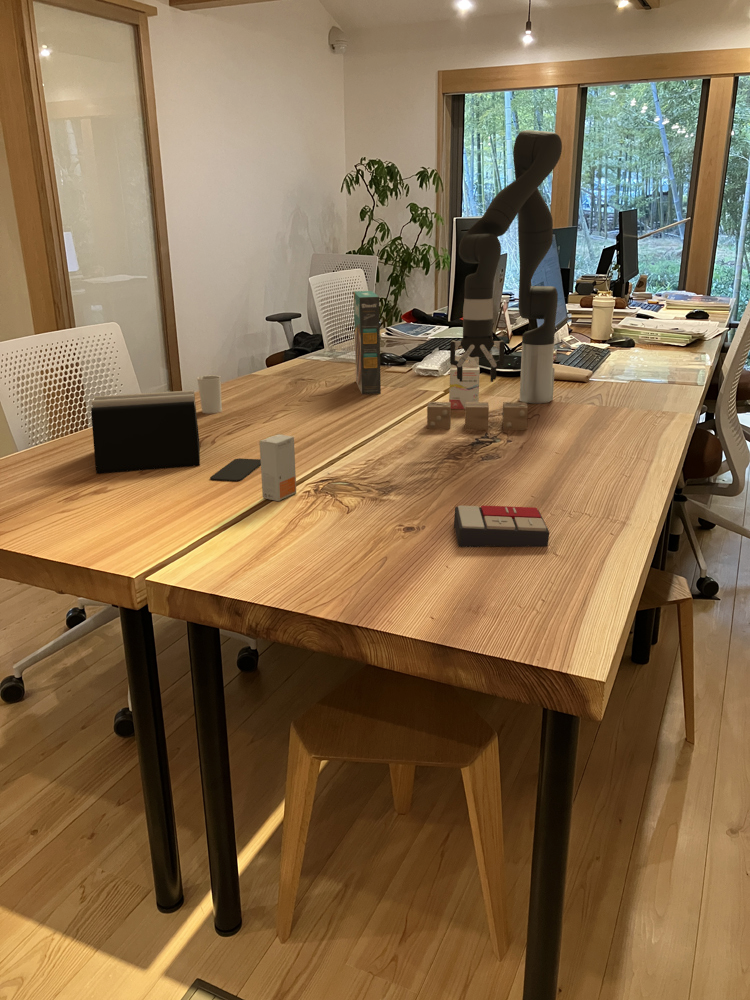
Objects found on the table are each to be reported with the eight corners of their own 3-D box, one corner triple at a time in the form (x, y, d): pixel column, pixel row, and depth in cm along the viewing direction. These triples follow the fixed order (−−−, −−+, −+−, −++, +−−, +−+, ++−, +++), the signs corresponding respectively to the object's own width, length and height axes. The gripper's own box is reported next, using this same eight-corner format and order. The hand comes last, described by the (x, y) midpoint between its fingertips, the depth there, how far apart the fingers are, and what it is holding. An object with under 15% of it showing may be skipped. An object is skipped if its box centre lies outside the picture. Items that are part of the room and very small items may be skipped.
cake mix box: (355, 381, 268) (353, 291, 258) (373, 380, 269) (371, 290, 259) (361, 394, 248) (359, 297, 238) (380, 393, 249) (379, 296, 238)
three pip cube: (428, 423, 211) (428, 401, 209) (450, 423, 210) (450, 401, 208) (427, 429, 205) (427, 406, 203) (450, 429, 205) (450, 406, 203)
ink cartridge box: (448, 409, 226) (449, 358, 221) (449, 405, 230) (449, 355, 226) (478, 409, 225) (480, 358, 220) (478, 405, 230) (479, 355, 225)
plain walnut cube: (465, 423, 210) (465, 402, 208) (487, 424, 209) (488, 402, 207) (464, 429, 204) (465, 407, 202) (488, 429, 204) (488, 407, 202)
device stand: (199, 467, 178) (193, 402, 173) (96, 475, 174) (86, 409, 168) (199, 442, 199) (193, 383, 194) (107, 448, 194) (98, 389, 189)
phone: (207, 478, 168) (235, 458, 181) (208, 482, 168) (235, 461, 182) (240, 480, 166) (265, 459, 180) (240, 483, 166) (265, 463, 180)
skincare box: (279, 502, 154) (275, 443, 150) (262, 498, 156) (258, 440, 152) (297, 493, 159) (294, 436, 154) (281, 489, 161) (277, 433, 157)
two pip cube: (502, 424, 209) (503, 401, 207) (525, 424, 208) (526, 401, 206) (503, 430, 203) (504, 406, 201) (526, 430, 202) (527, 406, 200)
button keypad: (550, 528, 129) (459, 524, 129) (547, 552, 131) (458, 548, 131) (539, 505, 140) (455, 502, 140) (536, 527, 141) (453, 524, 141)
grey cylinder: (220, 413, 226) (217, 379, 223) (198, 414, 227) (194, 379, 223) (225, 408, 233) (222, 375, 229) (203, 408, 233) (200, 375, 229)
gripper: (449, 318, 195) (448, 383, 200) (507, 318, 193) (504, 384, 199) (450, 315, 202) (449, 378, 207) (506, 315, 200) (503, 378, 206)
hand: (476, 381), depth 203 cm, fingers open, 7 cm apart
